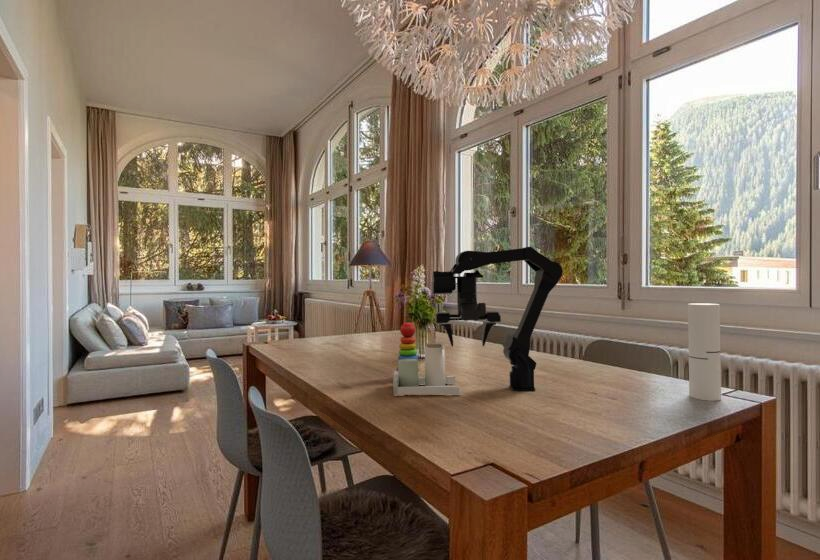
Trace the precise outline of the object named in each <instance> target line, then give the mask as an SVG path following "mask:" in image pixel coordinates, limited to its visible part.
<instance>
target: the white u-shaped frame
mask: <svg viewBox="0 0 820 560" xmlns="http://www.w3.org/2000/svg"><path fill="white" fill-rule="evenodd" d="M392 379H393V380H392V384H393V385H392V387H393V388H392V389H393V390H392V391H393V392H392V393H393V395H397V394H454V395H460V396H461V386H459V385H458V386H457V385H445V386H414V387H399V386H398V384H399V377H398V371H396V370H394V371H393V378H392ZM424 383H425V376H420V377H419V384H424ZM445 383H455V384H456V376H455V375H447V376H446V375H445Z"/></svg>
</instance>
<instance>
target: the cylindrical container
mask: <svg viewBox="0 0 820 560" xmlns="http://www.w3.org/2000/svg"><path fill="white" fill-rule="evenodd" d="M720 305H721V304H719V303H708V302H707V303H703V302H702V303H701V302H699V303H697V302H695V303H687V325H688V327H687V328H688V329H687V332H688V334H687V335H688V337H687V339H688V341H687V342H688V344H687V345H688V390H689V391H688V392H689V393H688V394H689V395H688V396H689V397H691V399H692V398H693V399H696V400H703V401H711V402H712V401H713V402H716V401H720V400H721V399H722V370H721V369H722V368H721V367H722V366H721V364H722V363H721V362H722V361H721V360H722V359H721V357H722V356H721V307H720Z"/></svg>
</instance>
